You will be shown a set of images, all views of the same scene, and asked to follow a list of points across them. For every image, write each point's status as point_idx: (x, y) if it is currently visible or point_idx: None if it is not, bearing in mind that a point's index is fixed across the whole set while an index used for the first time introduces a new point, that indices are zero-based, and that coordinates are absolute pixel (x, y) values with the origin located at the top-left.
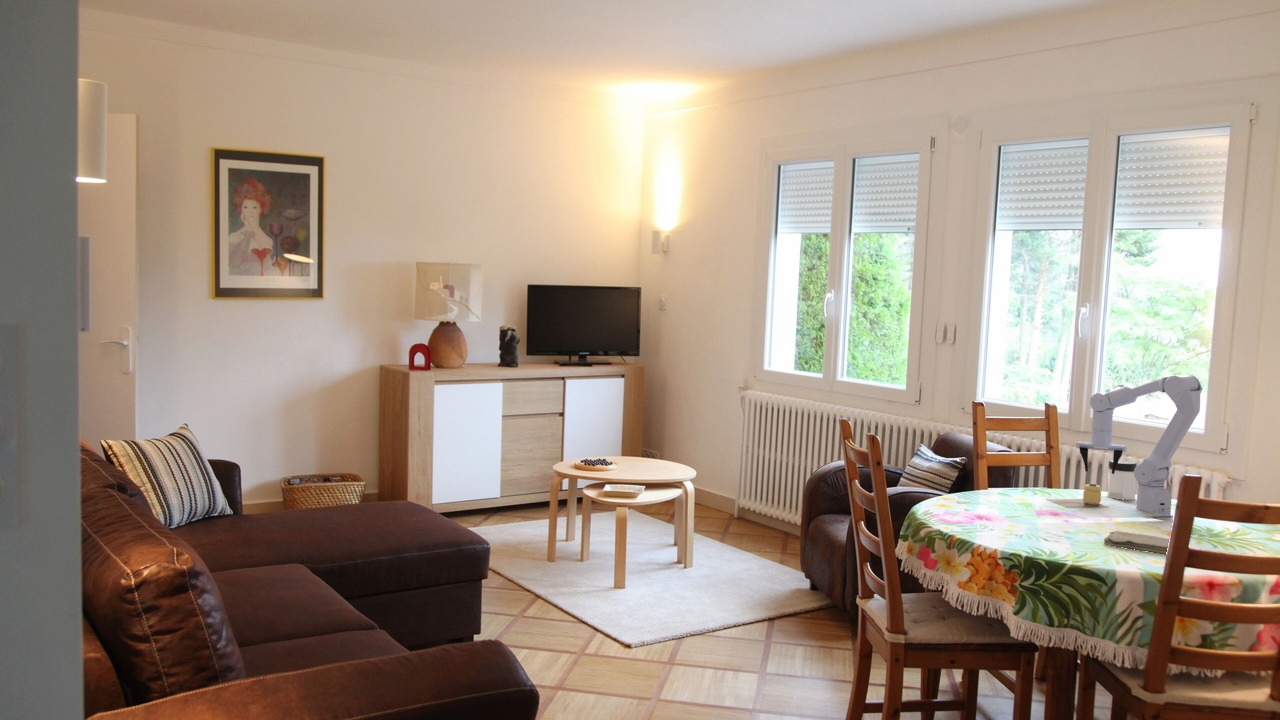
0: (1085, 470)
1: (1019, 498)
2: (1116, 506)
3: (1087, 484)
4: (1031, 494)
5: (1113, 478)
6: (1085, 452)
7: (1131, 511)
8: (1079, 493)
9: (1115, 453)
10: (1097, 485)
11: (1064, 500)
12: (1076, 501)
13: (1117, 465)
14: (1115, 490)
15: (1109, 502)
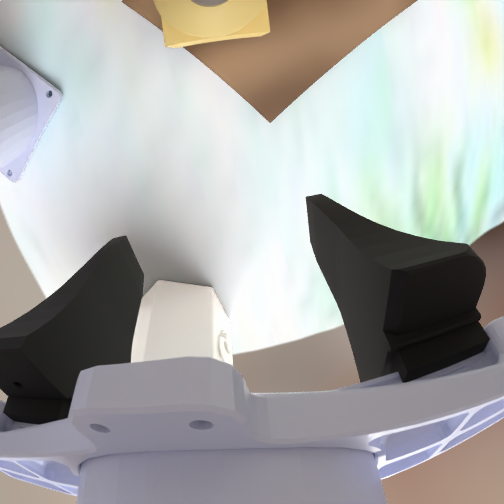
0: (324, 196)
1: (493, 54)
2: (130, 136)
3: (256, 10)
4: (468, 156)
5: (194, 347)
6: (416, 259)
7: (54, 81)
8: (319, 289)
9: (9, 342)
10: (184, 23)
11: (351, 13)
12: (296, 21)
13: None
14: (185, 306)
15: (181, 202)
